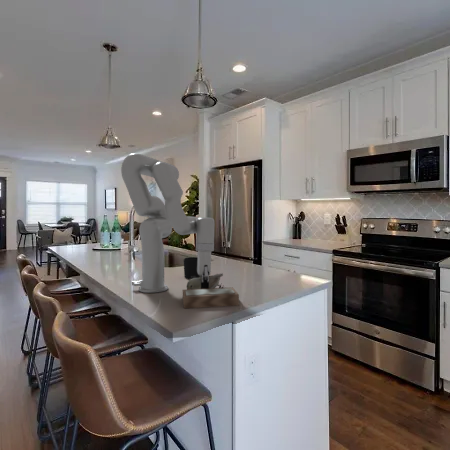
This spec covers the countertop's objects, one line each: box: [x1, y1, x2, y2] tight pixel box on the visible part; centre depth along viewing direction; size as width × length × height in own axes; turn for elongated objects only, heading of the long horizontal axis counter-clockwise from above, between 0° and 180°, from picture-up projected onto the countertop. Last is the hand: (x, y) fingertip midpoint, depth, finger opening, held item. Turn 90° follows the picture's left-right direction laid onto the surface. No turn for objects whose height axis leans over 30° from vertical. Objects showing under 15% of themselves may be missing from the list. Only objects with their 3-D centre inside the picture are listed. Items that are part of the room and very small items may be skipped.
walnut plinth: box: [182, 287, 240, 309], centre depth 118 cm, size 20×11×4 cm, turn 100°
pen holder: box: [183, 256, 200, 280], centre depth 163 cm, size 9×9×10 cm
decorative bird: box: [186, 272, 225, 290], centre depth 131 cm, size 5×16×8 cm, turn 112°
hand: (203, 289), depth 131 cm, fingers closed on decorative bird, 5 cm apart
